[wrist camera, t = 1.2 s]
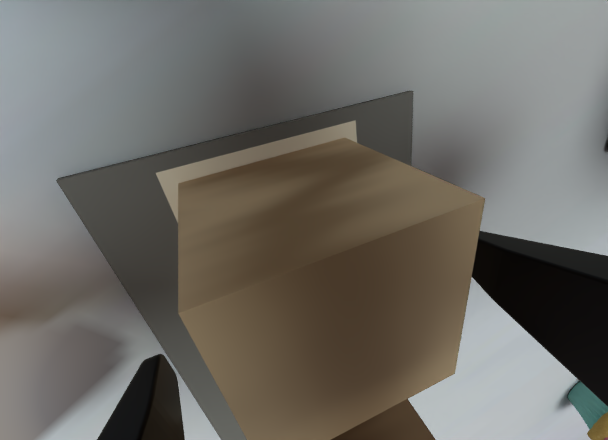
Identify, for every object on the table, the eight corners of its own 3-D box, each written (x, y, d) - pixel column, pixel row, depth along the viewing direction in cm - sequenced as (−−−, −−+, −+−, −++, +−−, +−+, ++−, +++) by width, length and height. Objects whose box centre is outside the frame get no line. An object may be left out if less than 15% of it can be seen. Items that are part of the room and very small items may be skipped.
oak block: (344, 137, 11) (485, 197, 6) (355, 263, 14) (454, 373, 9) (178, 183, 10) (178, 313, 5) (231, 312, 13) (265, 474, 8)
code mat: (409, 90, 11) (413, 91, 11) (403, 386, 21) (405, 389, 21) (58, 178, 8) (55, 181, 8) (242, 469, 19) (242, 474, 18)
